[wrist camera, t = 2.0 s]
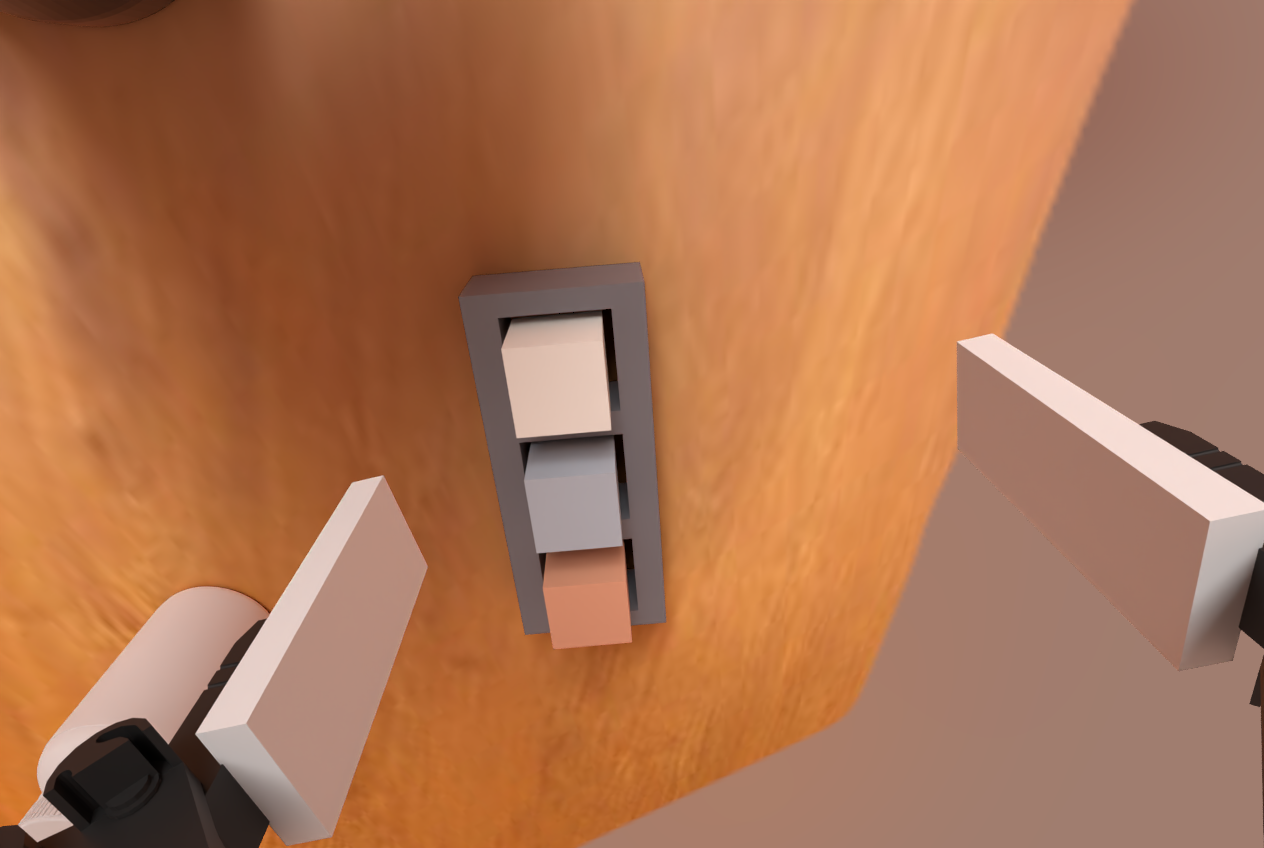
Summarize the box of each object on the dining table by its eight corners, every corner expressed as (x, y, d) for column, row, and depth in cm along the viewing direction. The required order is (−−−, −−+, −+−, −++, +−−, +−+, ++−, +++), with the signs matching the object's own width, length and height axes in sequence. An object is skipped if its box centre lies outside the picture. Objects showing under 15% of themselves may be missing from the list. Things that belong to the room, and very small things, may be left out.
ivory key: (525, 399, 36) (516, 438, 32) (512, 318, 34) (501, 349, 30) (609, 391, 36) (611, 430, 32) (602, 310, 34) (602, 340, 30)
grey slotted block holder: (530, 591, 45) (525, 634, 42) (472, 276, 35) (458, 297, 32) (660, 580, 45) (666, 622, 42) (639, 262, 35) (644, 281, 32)
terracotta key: (557, 596, 42) (553, 649, 38) (548, 538, 40) (542, 588, 36) (628, 589, 42) (632, 642, 38) (623, 531, 40) (626, 581, 36)
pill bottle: (254, 684, 48) (122, 913, 35) (142, 636, 46) (-46, 863, 32) (303, 617, 45) (181, 837, 32) (187, 563, 43) (2, 777, 30)
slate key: (543, 505, 39) (536, 553, 35) (531, 437, 37) (523, 480, 33) (620, 499, 39) (622, 546, 35) (613, 430, 37) (615, 472, 33)
